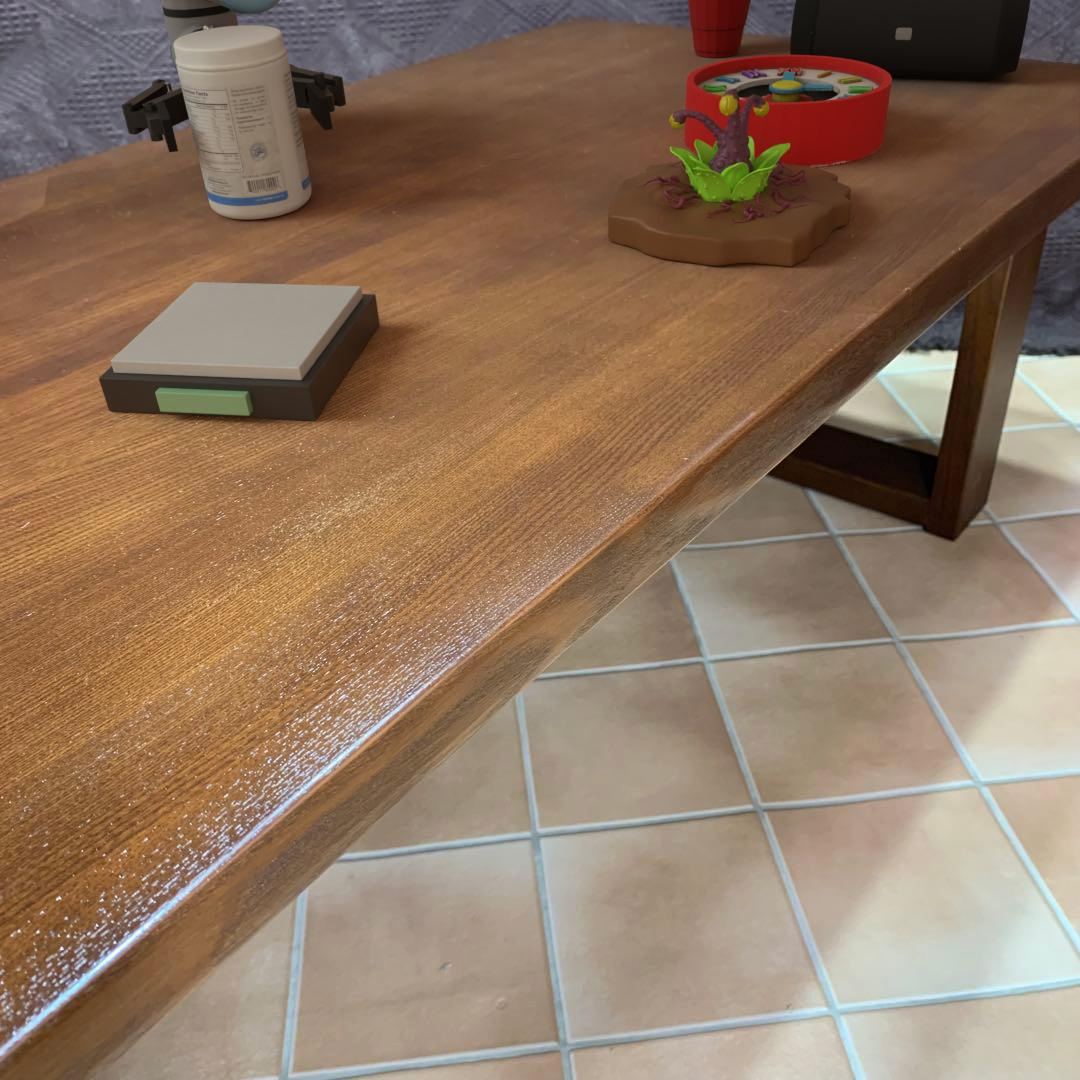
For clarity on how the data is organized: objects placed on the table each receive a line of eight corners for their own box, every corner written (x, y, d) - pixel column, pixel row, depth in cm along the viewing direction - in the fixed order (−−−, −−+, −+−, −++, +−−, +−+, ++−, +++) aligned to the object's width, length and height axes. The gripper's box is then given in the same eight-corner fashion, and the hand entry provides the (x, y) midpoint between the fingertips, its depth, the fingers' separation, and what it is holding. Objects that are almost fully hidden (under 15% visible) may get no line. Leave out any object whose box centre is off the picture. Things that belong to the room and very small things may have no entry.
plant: (575, 253, 88) (571, 109, 81) (646, 178, 102) (647, 51, 95) (824, 278, 81) (842, 124, 74) (862, 195, 96) (880, 60, 89)
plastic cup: (738, 65, 137) (744, -41, 130) (662, 58, 142) (664, -45, 135) (772, 47, 144) (780, -54, 137) (699, 41, 149) (703, -57, 142)
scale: (104, 416, 69) (89, 369, 67) (200, 319, 80) (189, 277, 78) (312, 426, 66) (303, 378, 65) (380, 325, 78) (373, 281, 76)
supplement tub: (255, 184, 106) (222, 21, 98) (333, 194, 103) (307, 26, 94) (188, 216, 99) (146, 44, 91) (270, 228, 96) (235, 50, 87)
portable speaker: (785, 81, 129) (793, -11, 123) (798, 62, 136) (806, -26, 131) (1014, 89, 121) (1033, -9, 116) (1014, 69, 129) (1032, -25, 123)
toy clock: (674, 103, 101) (697, 54, 117) (672, 165, 105) (695, 110, 120) (895, 105, 97) (889, 54, 113) (886, 170, 101) (881, 112, 116)
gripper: (82, 50, 105) (88, 98, 89) (333, 21, 112) (382, 61, 95) (104, 129, 110) (113, 189, 93) (344, 97, 116) (392, 147, 100)
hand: (249, 124), depth 94 cm, fingers open, 13 cm apart
